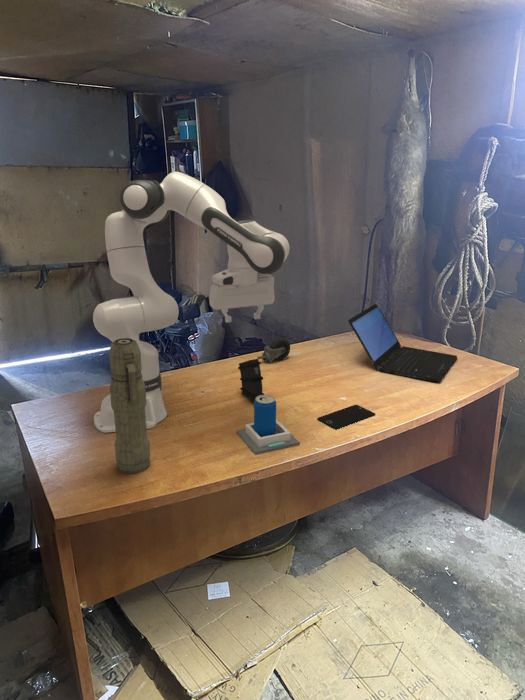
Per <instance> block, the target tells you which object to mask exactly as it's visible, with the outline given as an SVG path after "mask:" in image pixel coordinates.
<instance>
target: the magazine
mask: <svg viewBox="0 0 525 700" xmlns="http://www.w3.org/2000/svg"><path fill="white" fill-rule="evenodd" d="M261 364H262V362H261V361H260V359H258V358H255V359H249V360H246V361H243V362H240V363H238V366H237V369H238V370H239V372H240V378H239V381H241V387H240V390H241V393H242V395H243V396H244V397H245V398H247V399H248V400H249V401H250V402H251V403H252V404H253V405H254V401H255V399H256V397H257V396H260V395H265V393H264V392H263V380H264V376H262V372H261V366H260V365H261Z"/></svg>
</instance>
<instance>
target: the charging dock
mask: <svg viewBox="0 0 525 700" xmlns="http://www.w3.org/2000/svg"><path fill="white" fill-rule="evenodd" d="M236 434H237V435H238V437H240V438H241V440H242V441H243V442H244V443H245V445H246V446H247V447H248V448H249V449H250V451H251V452H252V453H253V454H254V455H261V454H265V453H268V452H273V451H278V450H283V449H287V448H291V447H296V446H300V444H301V442H300V441H299V440H298V439H297V438H296V437H295V436H294V435H293V434H292V433H291V431H289V430H288V429H287V428H286V427H285V426H284V425H283V424H282V423H281V422H280V421H279V420H278V419H277V418H276V434H274V435H269V436H265V437H260V436H259V435H258V434H257V433H256V432H255V431H254V422H251V423H246V424H245V425H244V428H241V429H237V430H236Z"/></svg>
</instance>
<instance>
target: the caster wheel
mask: <svg viewBox="0 0 525 700" xmlns="http://www.w3.org/2000/svg"><path fill="white" fill-rule="evenodd" d="M290 352H291V344H290V342H289V341H288V340H287V339H285V338H282V337H276V338H275V339H273V340H271V343H270V344H269V345H268V346H264V349H263V353H262V355H259V356H257V357H256V359H258V360H262V361H263V362H266V363H268V364H273V361H274V360H276V361H282V360H285V359H286V358H287V357H288V356H289V354H290Z"/></svg>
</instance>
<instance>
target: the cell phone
mask: <svg viewBox="0 0 525 700" xmlns="http://www.w3.org/2000/svg"><path fill="white" fill-rule="evenodd" d="M375 416H376V413H375V412H373V411H371V410H369V409H367V408H365V407H363V406H360V405H358V404H354V405H353V404H352V405H349V406H347V407H344V408H341V409H338V410H336V411H333V412H330V413H326V414H325V415H321V416H318V417H316V420H317V422H320V423H321V422H322V424H323V423H324V425H325V424H326V425H325V426H327V427H329V428H331V429H332V428H333V429H332V430H334V429H335V430H334V431H338V430H340V428H341V429H343V428H346V427H348V425H349V426H351V425H354V424H356V423H358V421H359V422H361V420H362V421H364V420H366V419H369V417H370V418H372V417H375ZM355 422H356V423H355ZM353 423H354V424H353ZM350 424H351V425H350ZM345 426H346V427H345ZM342 427H343V428H342ZM337 429H338V430H337Z"/></svg>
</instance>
